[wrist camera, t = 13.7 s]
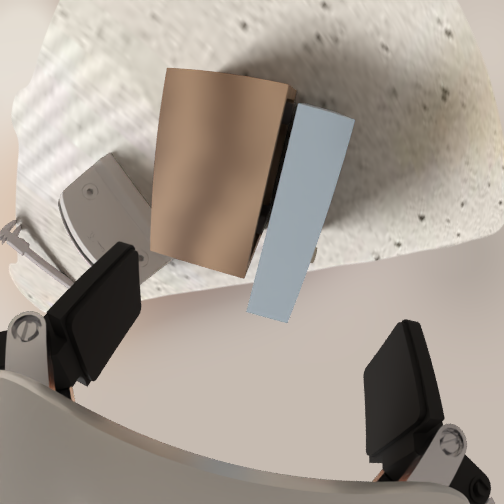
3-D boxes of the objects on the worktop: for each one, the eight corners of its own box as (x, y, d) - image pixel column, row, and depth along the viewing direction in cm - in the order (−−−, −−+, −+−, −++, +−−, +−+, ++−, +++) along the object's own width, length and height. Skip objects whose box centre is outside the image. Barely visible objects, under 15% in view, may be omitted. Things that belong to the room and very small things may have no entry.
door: (274, 225, 33) (246, 311, 21) (305, 103, 26) (298, 103, 13) (310, 235, 33) (303, 327, 20) (346, 115, 26) (376, 127, 13)
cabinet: (190, 210, 35) (150, 250, 26) (211, 75, 26) (167, 67, 18) (308, 242, 33) (304, 295, 25) (349, 105, 25) (366, 106, 17)
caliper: (15, 222, 43) (-7, 236, 38) (16, 218, 43) (-6, 232, 38) (80, 291, 47) (60, 311, 42) (81, 288, 47) (61, 308, 42)
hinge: (185, 251, 38) (134, 304, 31) (168, 259, 41) (121, 307, 34) (109, 150, 33) (46, 189, 26) (98, 167, 36) (42, 205, 29)
